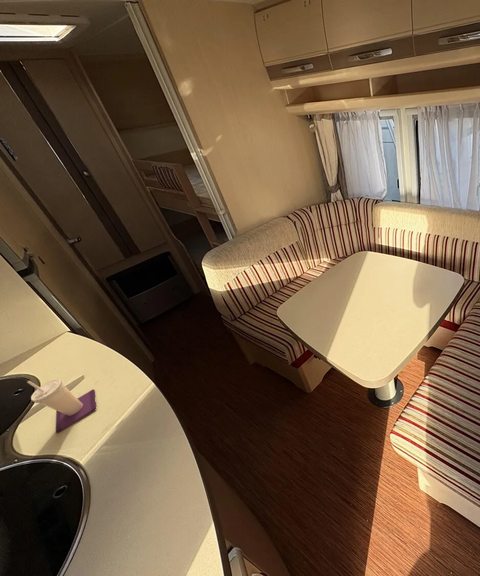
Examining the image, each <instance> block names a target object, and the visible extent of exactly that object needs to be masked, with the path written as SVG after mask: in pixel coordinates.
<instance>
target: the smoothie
mask: <svg viewBox="0 0 480 576" xmlns="http://www.w3.org/2000/svg"><path fill="white" fill-rule="evenodd" d="M26 383H27V384H28V385H30V386H31V387H33V388H35V389H36V390H34V392H33V393H32V394H31V396H30V400H31V401H32V402H33V403H35V404H41V405H42V406H45V407H47V408H50V409H51V410H52V409H53V410H55V411H56V410H57V411H59V412H61V413H64V414H66V415H68V416H71V415H74V414H76V413H77V412H78V411H80V409H81V408H82V407H83V404H82V403H81V402H80V401H79V400H78V399H77V396H75V395H74V394H73V393H72V392H71V390H70V389H68V388H67V386H66V385H64V381H63V380H60V379H57V378H56V379H52V380H49V381H47V382H46V383H44V384H42V385H41V386H38V385H37V384H36V383H34V382H33V381H31V380H28V381H27V382H26Z"/></svg>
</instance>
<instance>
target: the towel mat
mask: <svg viewBox="0 0 480 576" xmlns="http://www.w3.org/2000/svg"><path fill="white" fill-rule="evenodd" d="M95 397H96V390H95V389H94V388H92V389H91V390H89V391H88V392H86V393H84V394H82V395H81V396H79V397H78V398H77V397H76V398H77V399H78V400H79V401H80V402H81V403H82V404H83V407H82V408H81V409H80V411H78V412H77V413H76V414H74V415H71V416H68V415H66V414H64V413H61V412H59V411H57V410H55V411H56V412H55V433H56V434H59V433H60V432H63V431H64V430H66V429H67V428H69V427H71V426H72V425H74V424H75V423H77V422H78V421H80V420H81V418H82V419H84V418H85V417H87V416H88V415H90V414H92V413H93V412H95V411H96V410H95V409H96V407H97V401H96V402H95ZM94 410H95V411H94ZM92 411H93V412H92ZM91 412H92V413H91ZM89 413H90V414H89ZM86 415H87V416H86ZM84 416H85V417H84Z"/></svg>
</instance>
